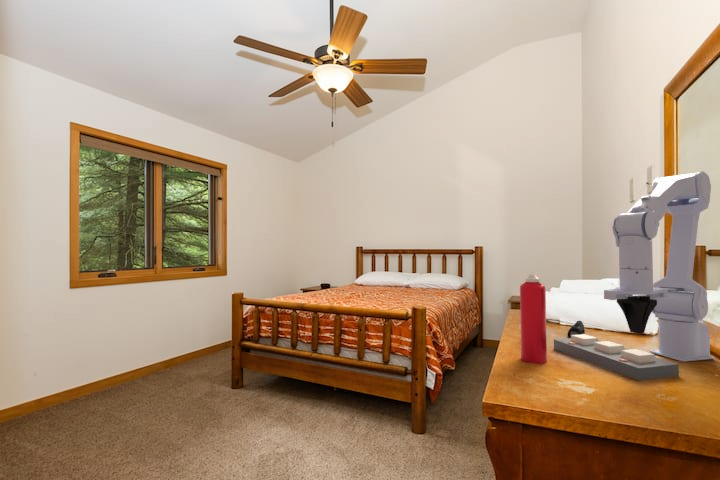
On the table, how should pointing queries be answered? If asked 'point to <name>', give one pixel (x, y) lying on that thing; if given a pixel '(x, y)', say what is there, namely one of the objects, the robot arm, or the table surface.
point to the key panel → (619, 361)
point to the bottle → (533, 321)
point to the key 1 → (583, 339)
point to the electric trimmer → (576, 329)
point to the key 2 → (637, 356)
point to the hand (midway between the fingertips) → (636, 332)
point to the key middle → (608, 347)
